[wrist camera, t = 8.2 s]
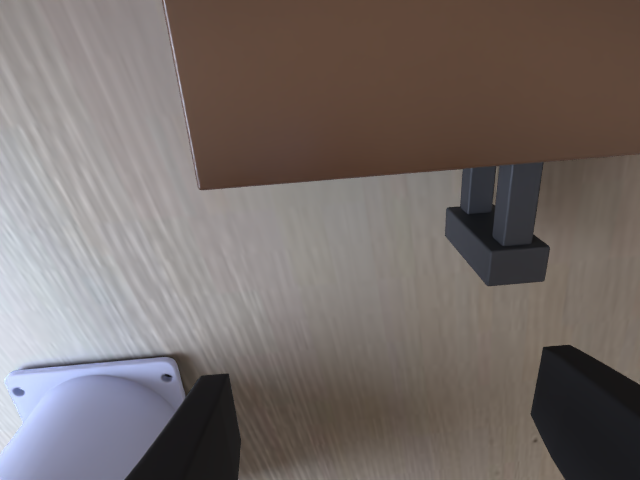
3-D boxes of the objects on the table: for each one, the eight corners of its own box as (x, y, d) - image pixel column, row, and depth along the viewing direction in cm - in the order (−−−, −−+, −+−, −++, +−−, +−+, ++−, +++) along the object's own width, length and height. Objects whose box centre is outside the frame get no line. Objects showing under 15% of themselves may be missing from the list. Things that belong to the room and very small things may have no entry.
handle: (570, 217, 17) (681, 281, 12) (401, 231, 17) (444, 302, 12) (593, 88, 15) (736, 103, 10) (402, 103, 15) (454, 126, 10)
